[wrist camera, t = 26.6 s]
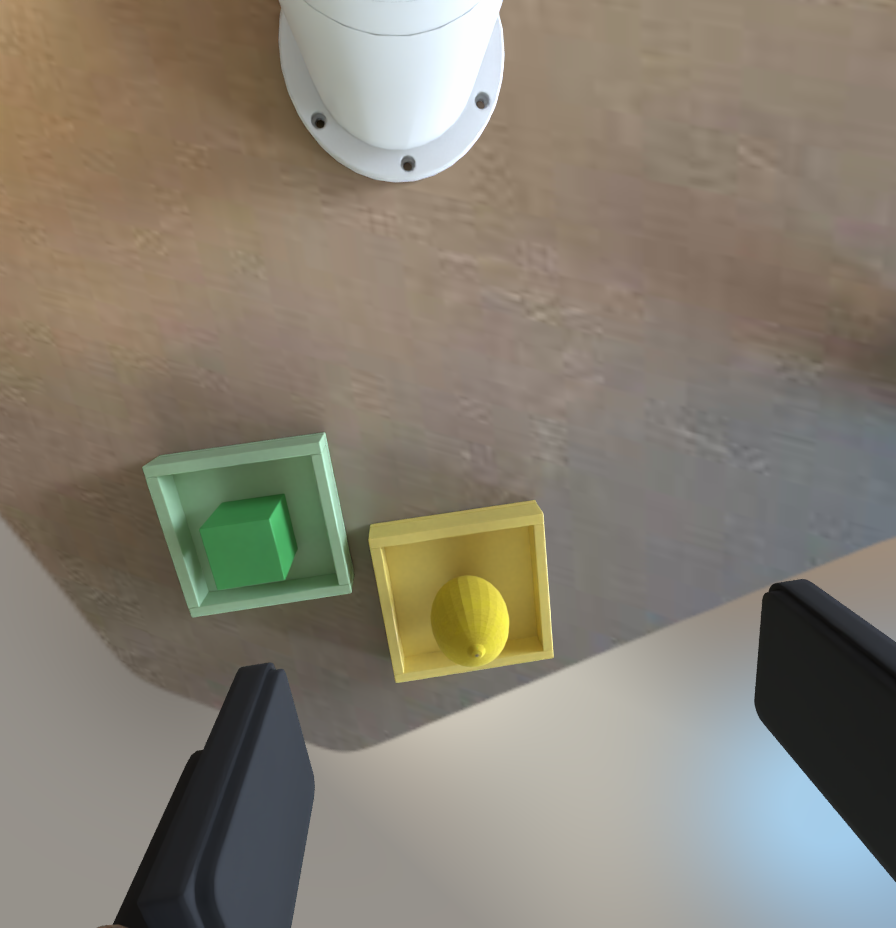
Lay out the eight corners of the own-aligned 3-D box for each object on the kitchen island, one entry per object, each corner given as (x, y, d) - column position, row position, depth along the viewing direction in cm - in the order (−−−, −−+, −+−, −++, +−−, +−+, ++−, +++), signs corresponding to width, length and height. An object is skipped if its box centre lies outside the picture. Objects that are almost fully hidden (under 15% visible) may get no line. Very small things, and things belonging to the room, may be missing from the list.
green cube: (221, 502, 37) (197, 529, 33) (284, 492, 38) (269, 518, 33) (237, 557, 39) (216, 590, 35) (298, 548, 39) (285, 580, 35)
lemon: (423, 615, 42) (428, 687, 34) (433, 553, 40) (441, 614, 32) (491, 621, 42) (510, 693, 35) (504, 560, 41) (527, 622, 33)
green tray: (158, 455, 37) (141, 467, 34) (325, 431, 37) (319, 441, 35) (204, 598, 40) (191, 618, 38) (354, 575, 41) (351, 593, 38)
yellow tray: (370, 523, 39) (367, 539, 37) (534, 499, 40) (543, 513, 37) (396, 661, 43) (395, 683, 41) (545, 637, 44) (553, 658, 42)
